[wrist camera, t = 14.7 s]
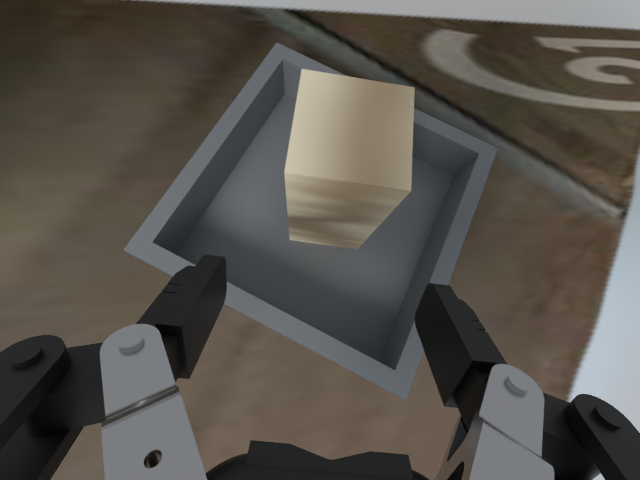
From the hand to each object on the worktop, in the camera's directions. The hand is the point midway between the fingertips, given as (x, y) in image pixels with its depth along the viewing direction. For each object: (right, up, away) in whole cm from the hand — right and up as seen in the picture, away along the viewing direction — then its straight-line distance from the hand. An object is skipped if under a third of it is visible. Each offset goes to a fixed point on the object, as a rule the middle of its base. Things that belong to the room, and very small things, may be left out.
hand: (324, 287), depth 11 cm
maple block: (0, +4, +8) cm, 9 cm away
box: (0, +4, +9) cm, 9 cm away
